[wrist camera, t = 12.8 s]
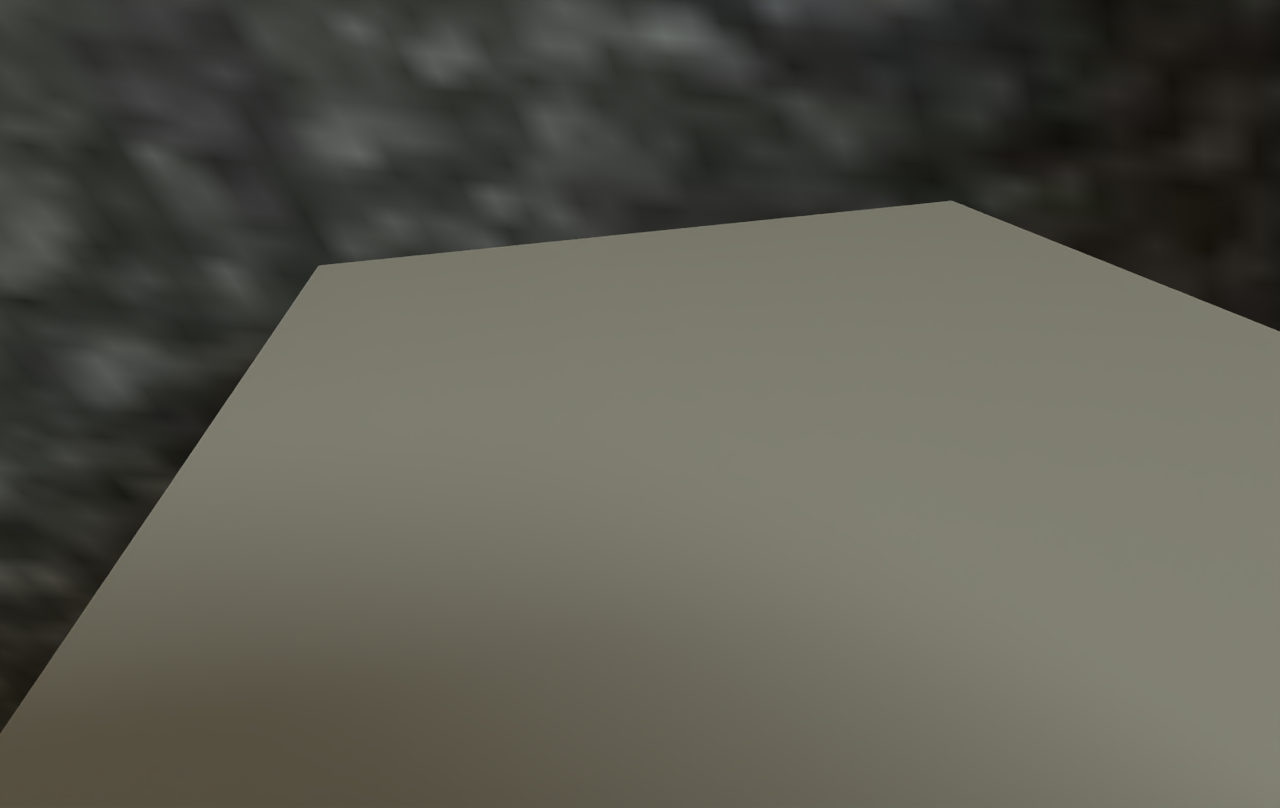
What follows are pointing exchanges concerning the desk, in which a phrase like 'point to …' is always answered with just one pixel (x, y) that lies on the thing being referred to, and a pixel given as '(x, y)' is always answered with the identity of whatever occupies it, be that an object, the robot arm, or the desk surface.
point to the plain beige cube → (703, 540)
